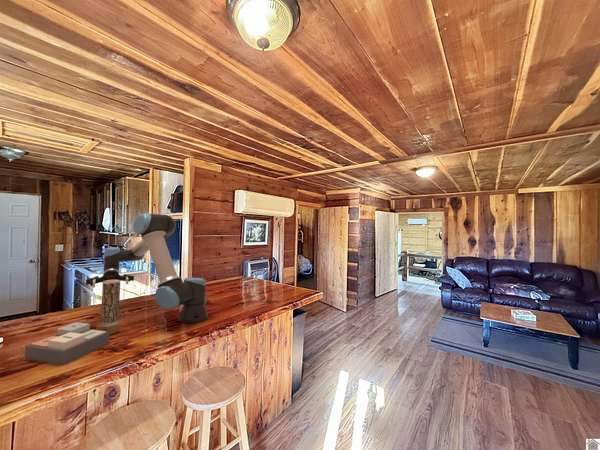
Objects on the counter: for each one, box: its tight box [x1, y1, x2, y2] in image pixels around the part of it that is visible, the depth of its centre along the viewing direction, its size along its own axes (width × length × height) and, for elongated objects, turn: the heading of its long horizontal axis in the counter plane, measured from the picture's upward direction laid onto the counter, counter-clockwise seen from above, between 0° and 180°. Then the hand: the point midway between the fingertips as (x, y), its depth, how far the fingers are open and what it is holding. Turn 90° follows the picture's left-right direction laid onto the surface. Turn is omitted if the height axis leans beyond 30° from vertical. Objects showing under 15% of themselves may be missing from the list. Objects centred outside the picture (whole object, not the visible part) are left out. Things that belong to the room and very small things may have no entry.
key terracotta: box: [29, 335, 59, 348], centre depth 97 cm, size 8×8×3 cm
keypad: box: [24, 328, 110, 366], centre depth 100 cm, size 18×18×5 cm
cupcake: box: [205, 291, 210, 304], centre depth 170 cm, size 9×8×12 cm
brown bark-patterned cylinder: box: [99, 280, 121, 336], centre depth 118 cm, size 7×7×25 cm
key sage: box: [82, 329, 106, 340], centre depth 104 cm, size 8×8×3 cm
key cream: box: [48, 332, 85, 351], centre depth 95 cm, size 8×8×3 cm
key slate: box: [56, 321, 91, 336], centre depth 105 cm, size 8×8×3 cm
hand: (111, 282), depth 124 cm, fingers open, 13 cm apart
